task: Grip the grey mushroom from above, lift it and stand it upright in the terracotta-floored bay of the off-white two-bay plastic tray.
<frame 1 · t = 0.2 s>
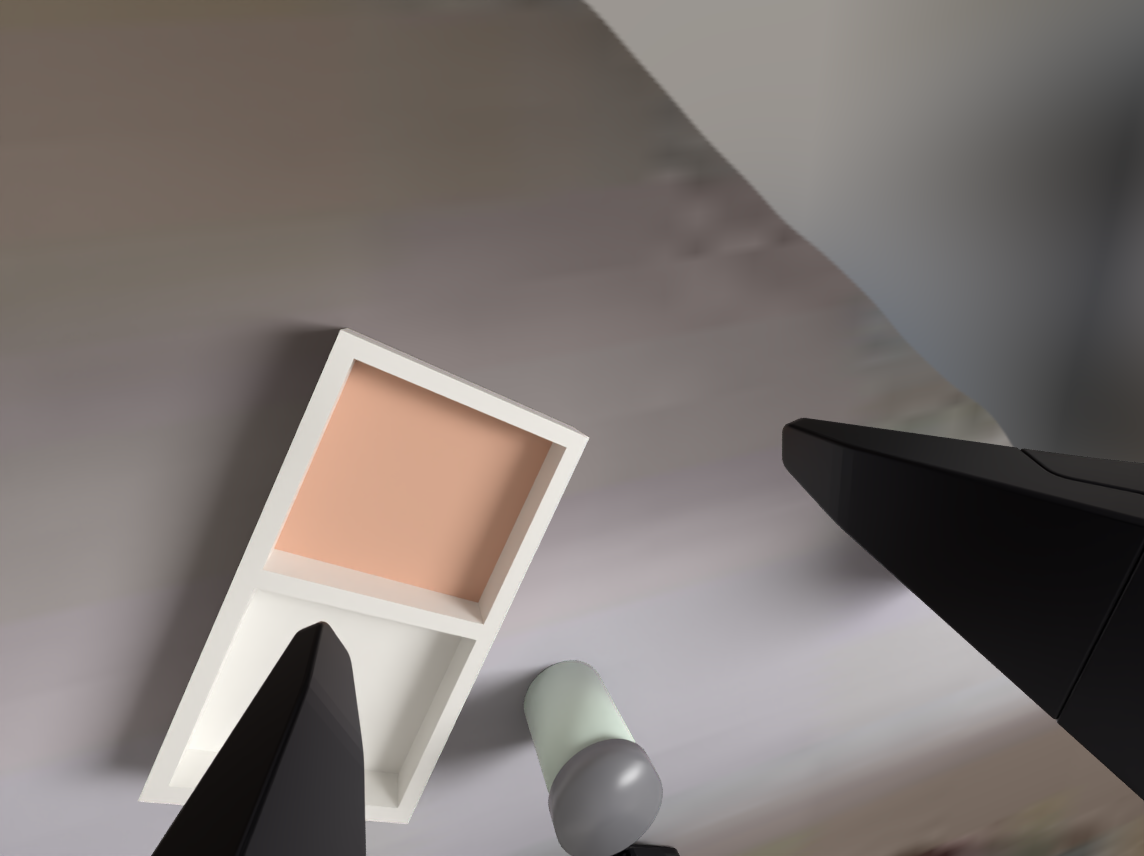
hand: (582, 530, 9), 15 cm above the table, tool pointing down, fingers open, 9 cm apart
grey mushroom: (563, 697, 28), on the table
sorting tray: (380, 579, 24), on the table
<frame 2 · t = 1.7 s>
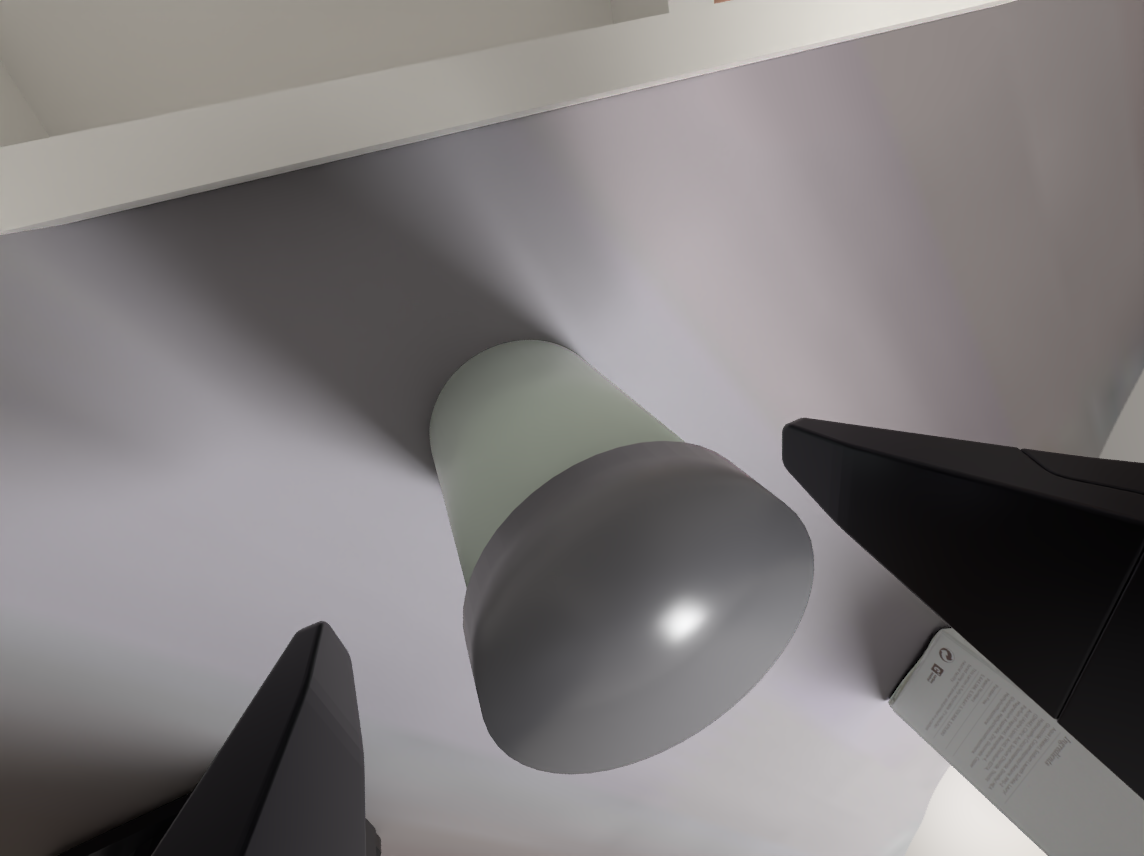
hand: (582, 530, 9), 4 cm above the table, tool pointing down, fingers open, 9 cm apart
grey mushroom: (523, 429, 13), on the table
skincare box: (949, 654, 29), on the table
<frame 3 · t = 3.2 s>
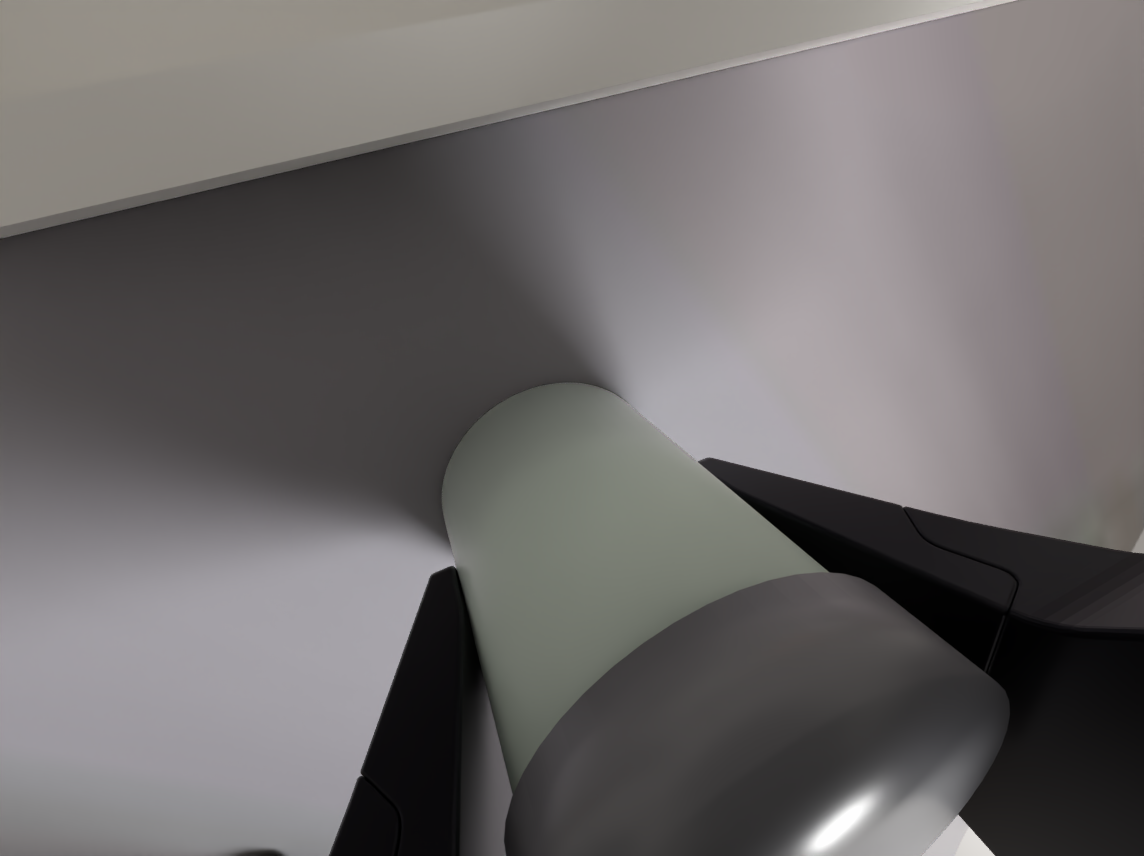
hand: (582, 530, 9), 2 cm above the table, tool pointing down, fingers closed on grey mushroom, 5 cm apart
grey mushroom: (554, 486, 10), on the table, touching gripper
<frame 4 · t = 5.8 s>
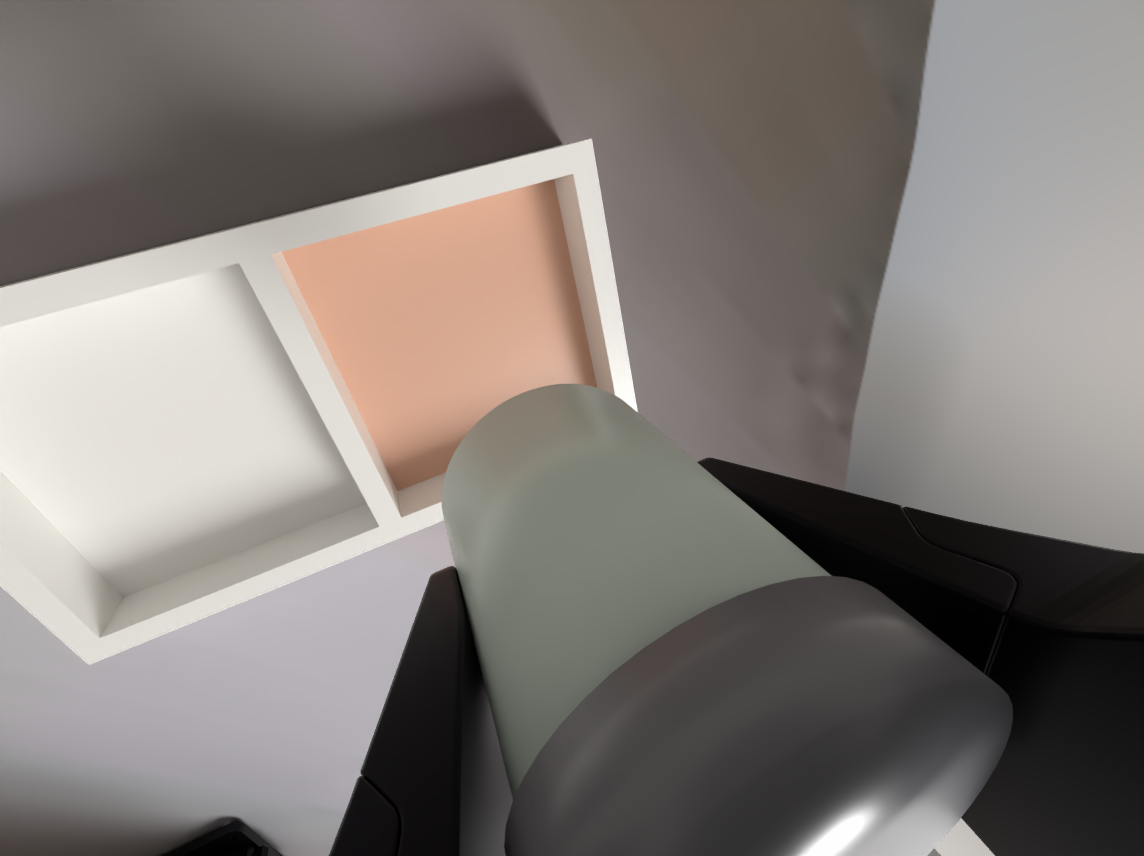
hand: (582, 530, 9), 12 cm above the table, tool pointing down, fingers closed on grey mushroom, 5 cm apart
grey mushroom: (554, 488, 10), point 10 cm above the table, touching gripper
sorting tray: (335, 383, 18), on the table
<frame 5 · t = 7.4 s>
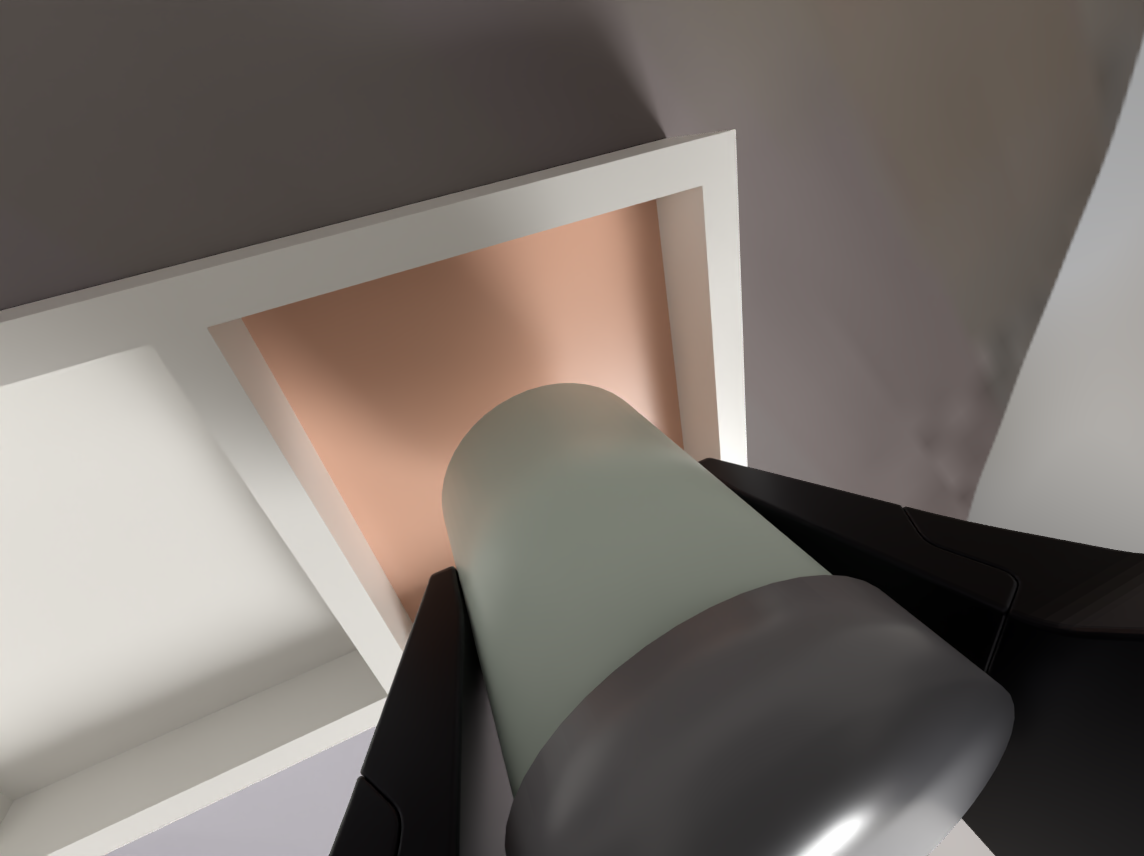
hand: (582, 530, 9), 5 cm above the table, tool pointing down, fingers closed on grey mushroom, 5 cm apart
grey mushroom: (555, 487, 10), point 3 cm above the table, touching gripper
sorting tray: (325, 488, 12), on the table
when the fingers open (4 cm above the table, at t = 8.5 s): grey mushroom drops 1 cm, resting on sorting tray.
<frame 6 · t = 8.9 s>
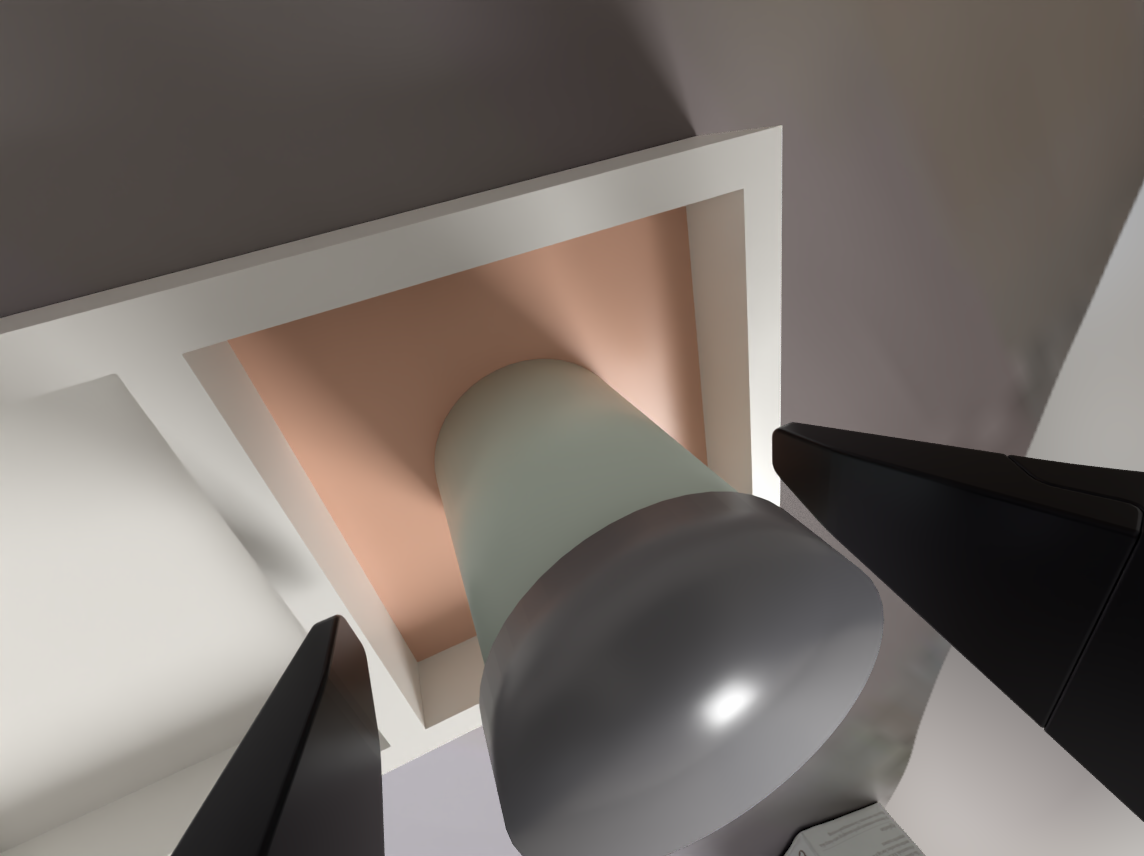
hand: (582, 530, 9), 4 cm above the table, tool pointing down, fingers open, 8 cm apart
grey mushroom: (536, 453, 12), point 1 cm above the table, touching sorting tray
sorting tray: (321, 520, 11), on the table
skincare box: (821, 835, 33), on the table
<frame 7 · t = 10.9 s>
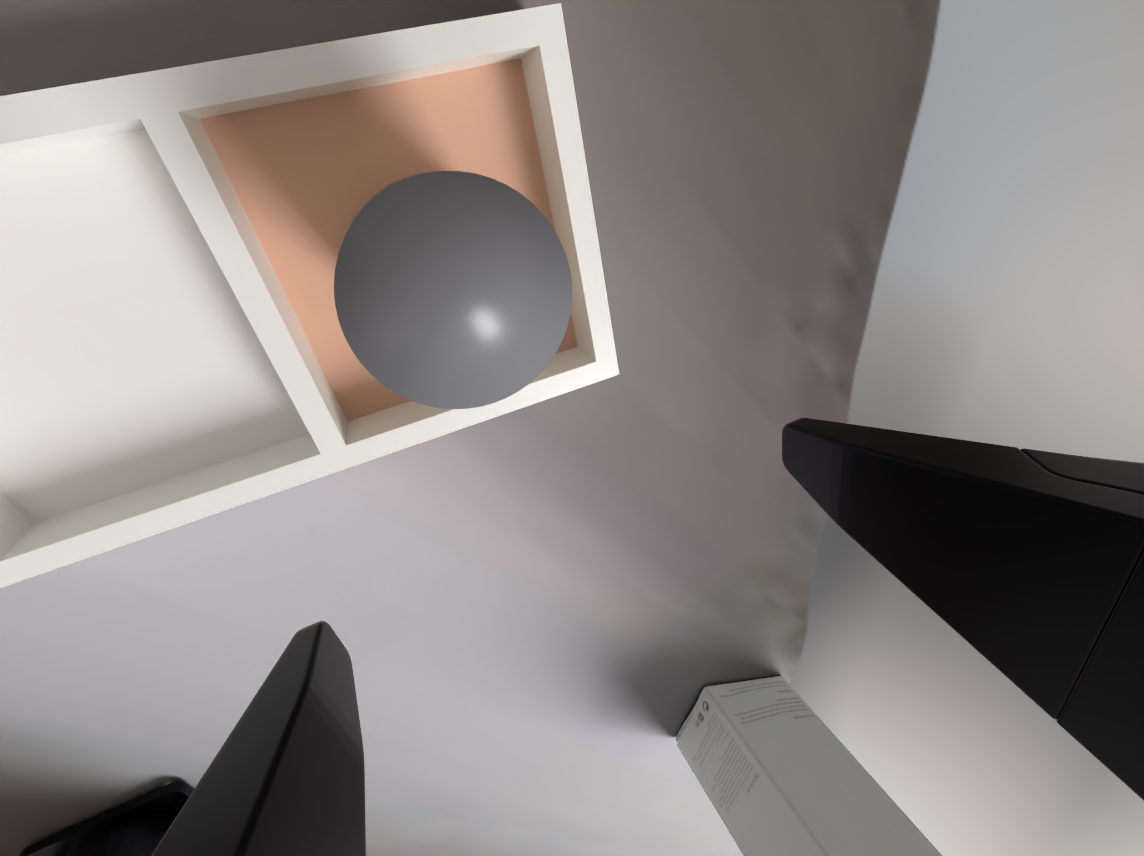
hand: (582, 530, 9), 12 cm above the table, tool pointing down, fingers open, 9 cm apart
grey mushroom: (427, 256, 17), point 1 cm above the table, touching sorting tray
sorting tray: (274, 292, 16), on the table
skincare box: (730, 701, 38), on the table
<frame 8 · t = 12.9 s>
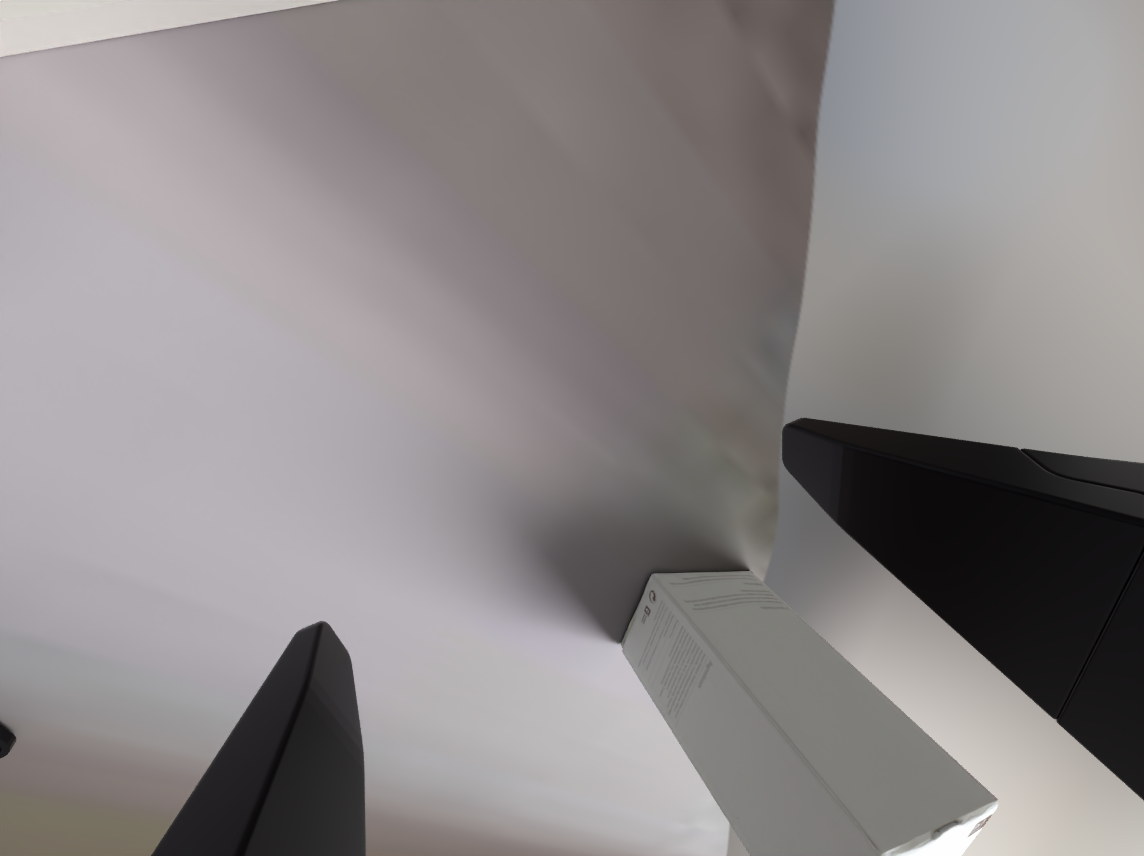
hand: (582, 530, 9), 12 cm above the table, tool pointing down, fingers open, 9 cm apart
skincare box: (688, 602, 31), on the table
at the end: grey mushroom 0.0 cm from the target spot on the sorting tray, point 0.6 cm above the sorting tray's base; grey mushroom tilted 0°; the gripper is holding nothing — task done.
